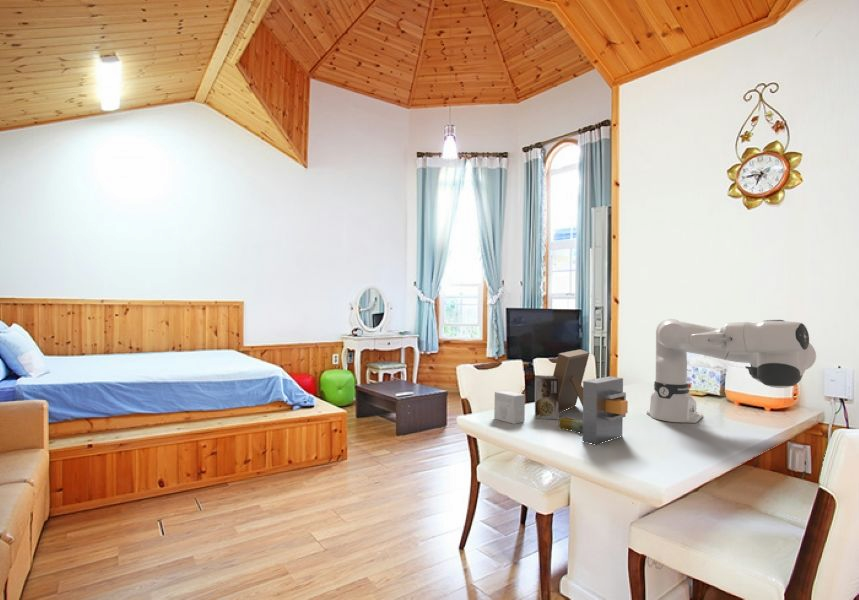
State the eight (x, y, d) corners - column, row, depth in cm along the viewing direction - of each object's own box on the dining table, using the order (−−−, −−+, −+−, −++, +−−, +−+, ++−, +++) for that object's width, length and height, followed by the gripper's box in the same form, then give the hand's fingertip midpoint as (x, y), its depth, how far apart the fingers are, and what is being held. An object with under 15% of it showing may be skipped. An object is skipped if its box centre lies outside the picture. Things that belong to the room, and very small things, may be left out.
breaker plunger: (601, 407, 165) (601, 395, 165) (627, 412, 158) (627, 400, 158) (594, 409, 162) (594, 397, 162) (621, 414, 155) (621, 402, 155)
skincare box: (525, 421, 184) (525, 394, 184) (514, 424, 180) (514, 396, 180) (504, 416, 192) (505, 389, 192) (493, 418, 188) (493, 391, 188)
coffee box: (557, 415, 194) (557, 375, 193) (558, 419, 187) (559, 378, 187) (534, 414, 195) (534, 374, 195) (534, 418, 189) (535, 377, 189)
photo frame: (543, 413, 197) (545, 352, 196) (566, 404, 214) (567, 348, 213) (579, 420, 187) (581, 355, 187) (599, 410, 204) (601, 351, 204)
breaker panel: (608, 433, 169) (609, 376, 169) (630, 438, 163) (631, 379, 163) (582, 441, 159) (583, 381, 159) (604, 447, 153) (605, 384, 153)
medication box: (591, 434, 169) (591, 423, 169) (587, 435, 167) (587, 424, 167) (562, 427, 178) (563, 416, 178) (558, 428, 176) (558, 417, 176)
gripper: (726, 351, 130) (672, 352, 140) (745, 346, 145) (694, 347, 154) (724, 328, 131) (670, 330, 140) (743, 325, 145) (692, 327, 155)
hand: (683, 339), depth 148 cm, fingers open, 8 cm apart
